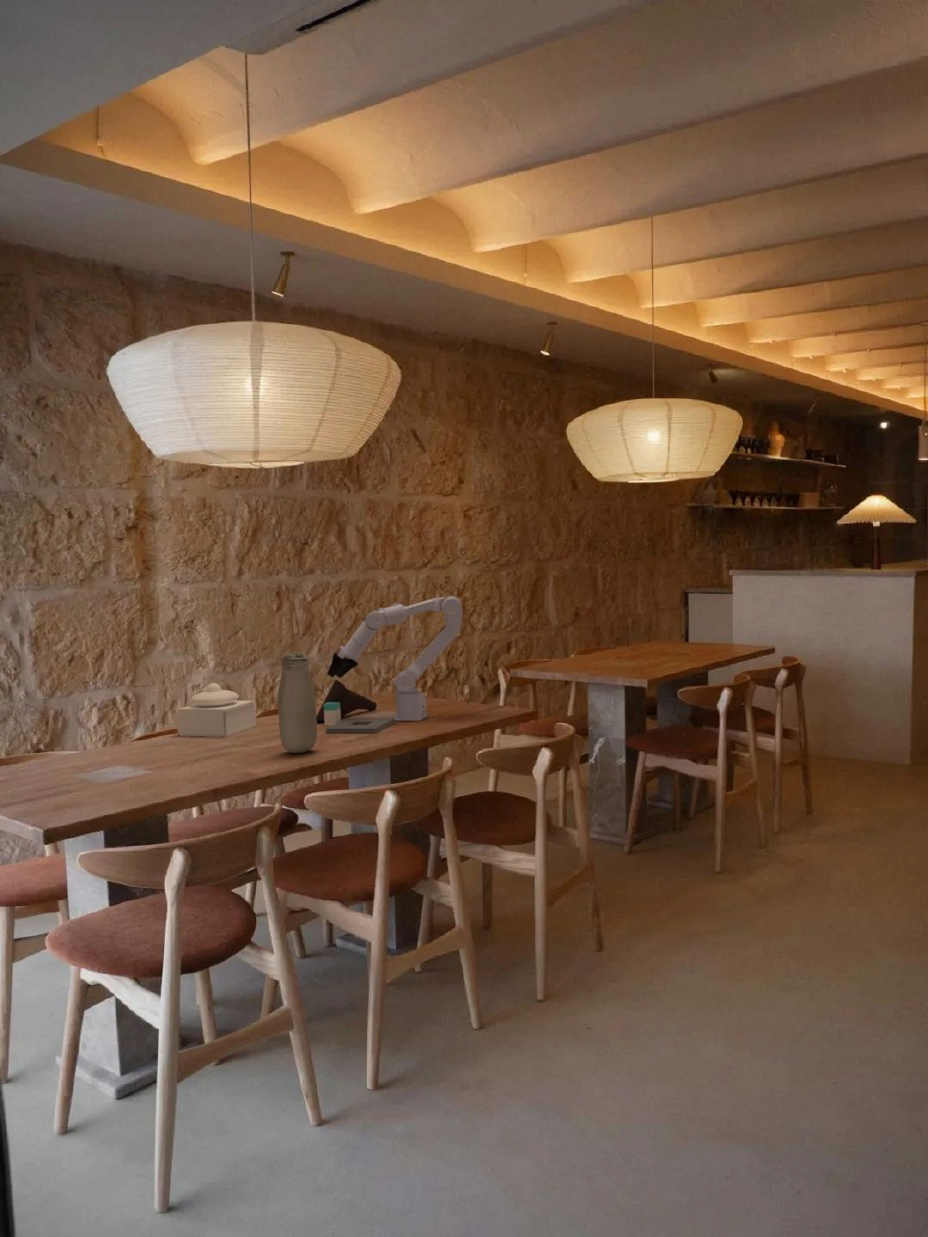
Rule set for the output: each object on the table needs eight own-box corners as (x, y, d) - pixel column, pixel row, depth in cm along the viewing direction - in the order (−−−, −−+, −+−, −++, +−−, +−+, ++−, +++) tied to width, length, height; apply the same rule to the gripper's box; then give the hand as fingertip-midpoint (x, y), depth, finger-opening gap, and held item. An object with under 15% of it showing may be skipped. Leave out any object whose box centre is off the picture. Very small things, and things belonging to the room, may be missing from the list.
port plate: (394, 722, 317) (394, 718, 317) (375, 733, 300) (375, 728, 299) (348, 723, 321) (347, 718, 321) (326, 733, 304) (325, 728, 304)
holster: (356, 746, 342) (310, 719, 324) (371, 702, 348) (326, 673, 330) (367, 747, 339) (321, 720, 321) (382, 703, 345) (337, 674, 327)
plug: (341, 723, 321) (339, 702, 320) (336, 726, 317) (335, 704, 316) (329, 723, 322) (328, 702, 321) (324, 726, 318) (323, 704, 317)
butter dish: (209, 726, 328) (206, 679, 327) (257, 727, 322) (254, 678, 321) (177, 736, 312) (174, 686, 311) (227, 737, 306) (223, 686, 305)
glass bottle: (297, 757, 269) (291, 654, 267) (274, 753, 276) (268, 653, 274) (325, 751, 276) (319, 650, 274) (302, 747, 283) (296, 649, 281)
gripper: (356, 636, 330) (332, 669, 330) (341, 633, 315) (316, 667, 316) (372, 649, 328) (348, 682, 329) (358, 646, 314) (333, 681, 315)
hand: (333, 675), depth 322 cm, fingers open, 7 cm apart
